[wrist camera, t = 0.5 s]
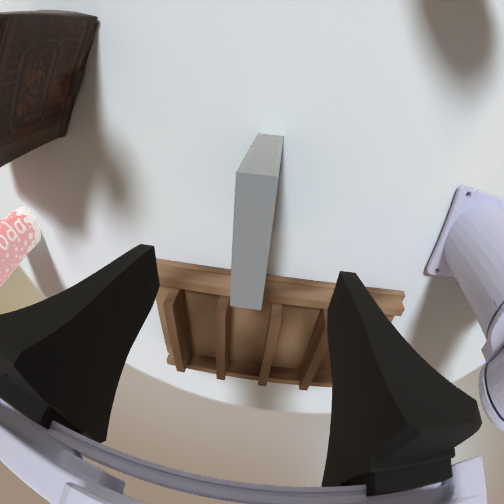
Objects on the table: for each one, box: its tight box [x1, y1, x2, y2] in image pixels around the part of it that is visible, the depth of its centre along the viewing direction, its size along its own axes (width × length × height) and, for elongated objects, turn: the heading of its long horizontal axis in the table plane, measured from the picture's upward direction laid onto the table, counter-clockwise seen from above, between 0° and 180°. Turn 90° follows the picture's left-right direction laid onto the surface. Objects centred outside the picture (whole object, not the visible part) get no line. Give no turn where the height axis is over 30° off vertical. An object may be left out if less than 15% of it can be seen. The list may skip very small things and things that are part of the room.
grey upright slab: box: [230, 133, 284, 310], centre depth 16 cm, size 2×7×8 cm, turn 176°
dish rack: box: [156, 259, 405, 390], centre depth 25 cm, size 22×13×4 cm, turn 85°
